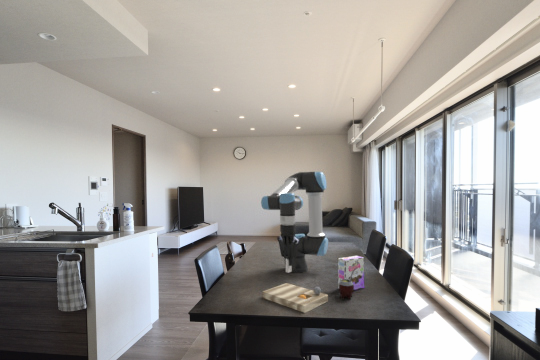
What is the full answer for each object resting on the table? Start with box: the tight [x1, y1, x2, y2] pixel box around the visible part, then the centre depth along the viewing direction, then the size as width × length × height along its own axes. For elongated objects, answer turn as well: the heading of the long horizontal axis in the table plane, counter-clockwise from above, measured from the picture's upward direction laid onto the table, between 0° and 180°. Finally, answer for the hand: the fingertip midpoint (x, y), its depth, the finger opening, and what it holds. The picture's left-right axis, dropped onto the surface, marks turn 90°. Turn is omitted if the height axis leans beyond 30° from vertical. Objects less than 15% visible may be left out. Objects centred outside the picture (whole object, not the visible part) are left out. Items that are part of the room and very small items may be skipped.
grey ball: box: [312, 286, 322, 295], centre depth 137 cm, size 4×4×4 cm
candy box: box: [337, 255, 365, 291], centre depth 154 cm, size 14×6×16 cm, turn 117°
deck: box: [262, 282, 329, 314], centre depth 139 cm, size 26×18×3 cm
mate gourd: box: [339, 268, 357, 301], centre depth 142 cm, size 8×8×15 cm
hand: (288, 271), depth 143 cm, fingers closed
